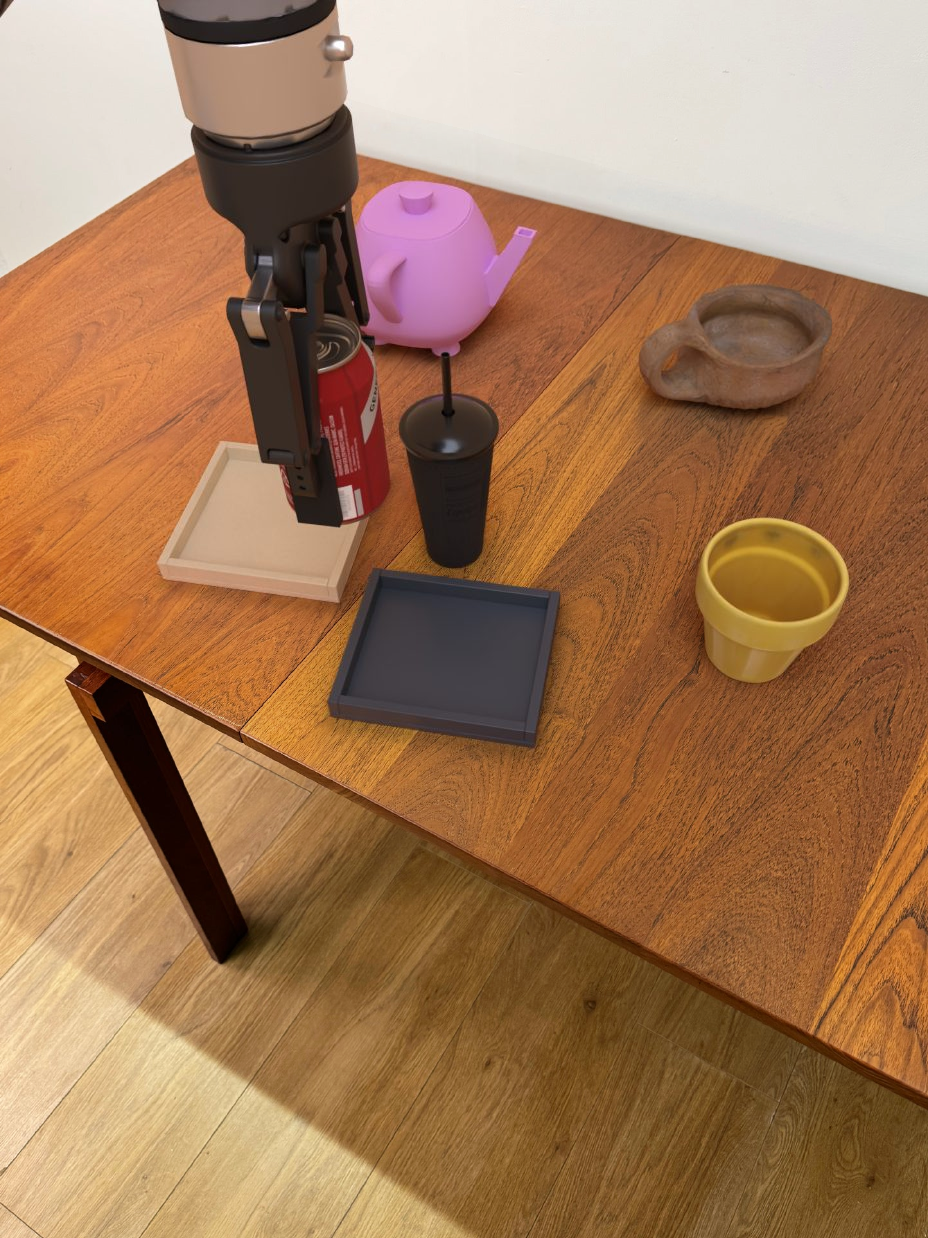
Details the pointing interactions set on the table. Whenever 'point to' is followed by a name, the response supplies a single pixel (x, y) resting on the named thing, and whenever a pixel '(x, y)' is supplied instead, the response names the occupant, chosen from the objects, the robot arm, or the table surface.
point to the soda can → (350, 419)
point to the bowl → (739, 348)
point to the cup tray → (256, 534)
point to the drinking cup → (451, 469)
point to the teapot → (431, 265)
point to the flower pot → (767, 595)
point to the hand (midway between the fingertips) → (336, 479)
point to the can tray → (448, 657)
